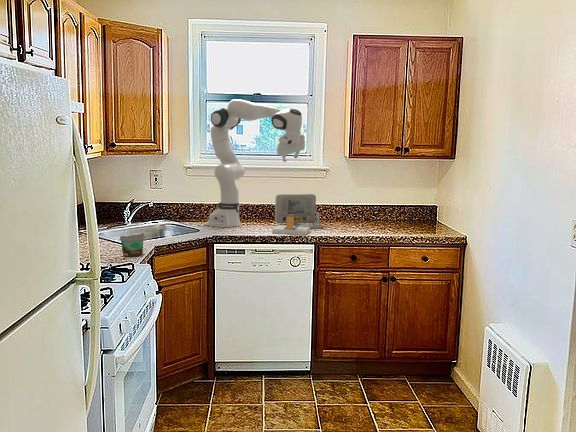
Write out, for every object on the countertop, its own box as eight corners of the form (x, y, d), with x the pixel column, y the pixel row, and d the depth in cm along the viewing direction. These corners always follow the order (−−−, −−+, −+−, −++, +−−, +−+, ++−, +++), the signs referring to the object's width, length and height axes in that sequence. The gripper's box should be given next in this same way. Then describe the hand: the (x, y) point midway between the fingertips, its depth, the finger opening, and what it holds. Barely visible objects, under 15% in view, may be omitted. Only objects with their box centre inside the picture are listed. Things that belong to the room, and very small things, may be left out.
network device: (312, 223, 359) (313, 193, 356) (316, 226, 350) (317, 195, 347) (274, 224, 352) (274, 193, 349) (277, 227, 344) (278, 195, 341)
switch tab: (286, 229, 322) (286, 214, 321) (287, 228, 325) (287, 214, 324) (292, 229, 321) (293, 215, 320) (293, 228, 325) (294, 214, 323)
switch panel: (272, 233, 323) (272, 227, 322) (277, 229, 336) (277, 223, 336) (305, 235, 319) (306, 229, 319) (309, 231, 333) (309, 225, 332)
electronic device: (298, 213, 342) (320, 211, 347) (298, 228, 344) (320, 227, 348) (300, 214, 337) (323, 213, 342) (301, 230, 339) (323, 228, 343)
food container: (127, 259, 250) (127, 237, 249) (120, 257, 254) (119, 235, 253) (150, 255, 259) (150, 234, 258) (143, 253, 263) (142, 232, 262)
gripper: (300, 132, 327) (298, 154, 334) (276, 139, 314) (274, 161, 320) (308, 135, 324) (305, 157, 330) (284, 142, 310) (282, 165, 317)
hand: (290, 159), depth 325 cm, fingers open, 8 cm apart
